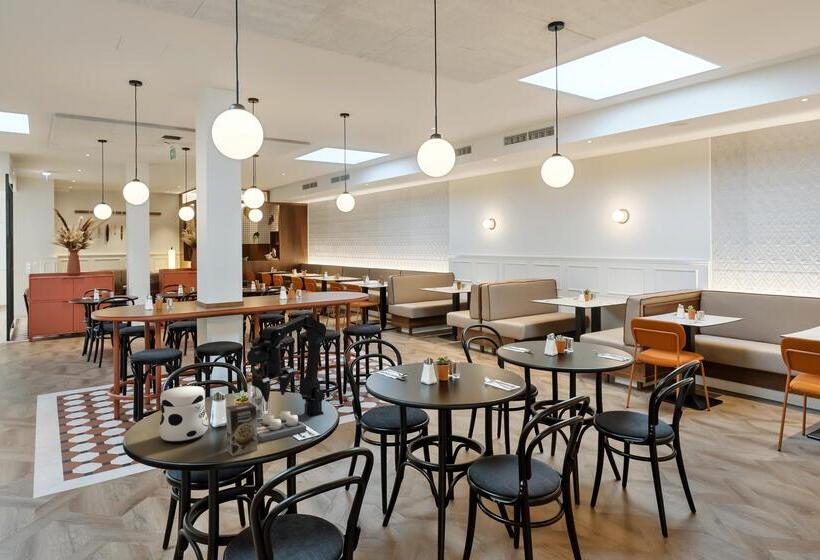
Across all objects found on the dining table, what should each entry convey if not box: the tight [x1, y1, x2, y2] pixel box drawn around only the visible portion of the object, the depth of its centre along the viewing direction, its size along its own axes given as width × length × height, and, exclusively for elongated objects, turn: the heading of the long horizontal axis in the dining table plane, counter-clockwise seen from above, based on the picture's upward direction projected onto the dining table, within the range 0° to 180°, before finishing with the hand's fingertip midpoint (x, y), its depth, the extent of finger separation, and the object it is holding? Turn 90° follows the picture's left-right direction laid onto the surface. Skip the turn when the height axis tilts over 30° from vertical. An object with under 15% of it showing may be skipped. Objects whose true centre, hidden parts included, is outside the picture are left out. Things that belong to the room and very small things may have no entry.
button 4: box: [286, 414, 299, 426], centre depth 203 cm, size 4×4×3 cm
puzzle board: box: [257, 416, 307, 444], centre depth 203 cm, size 18×17×3 cm
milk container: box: [158, 385, 209, 443], centre depth 197 cm, size 17×17×18 cm
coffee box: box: [225, 402, 258, 457], centre depth 183 cm, size 9×6×16 cm
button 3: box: [278, 410, 292, 421], centre depth 209 cm, size 4×4×3 cm
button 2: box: [269, 419, 281, 430], centre depth 199 cm, size 4×4×3 cm
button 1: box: [262, 413, 275, 425], centre depth 204 cm, size 4×4×3 cm
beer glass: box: [247, 381, 265, 421], centre depth 218 cm, size 7×7×15 cm
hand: (274, 398), depth 204 cm, fingers open, 9 cm apart
